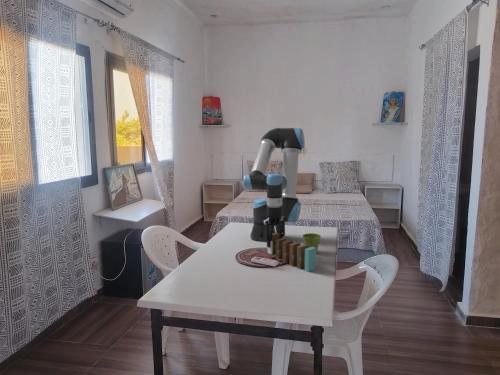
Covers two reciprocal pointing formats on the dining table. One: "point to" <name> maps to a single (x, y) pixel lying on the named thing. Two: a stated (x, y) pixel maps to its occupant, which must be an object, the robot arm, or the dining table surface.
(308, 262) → the domino
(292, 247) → the domino
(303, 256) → the domino
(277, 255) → the domino
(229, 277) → the dining table surface
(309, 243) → the plant pot
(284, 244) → the domino
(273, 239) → the domino
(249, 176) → the robot arm
